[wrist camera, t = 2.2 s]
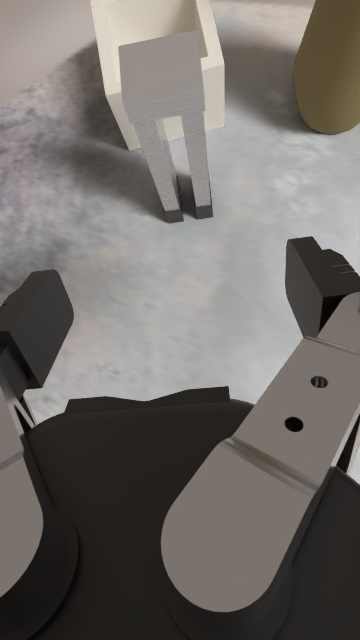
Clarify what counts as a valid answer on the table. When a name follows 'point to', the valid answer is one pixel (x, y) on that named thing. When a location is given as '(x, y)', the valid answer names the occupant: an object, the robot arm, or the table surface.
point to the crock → (149, 23)
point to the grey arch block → (168, 113)
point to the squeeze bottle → (330, 67)
